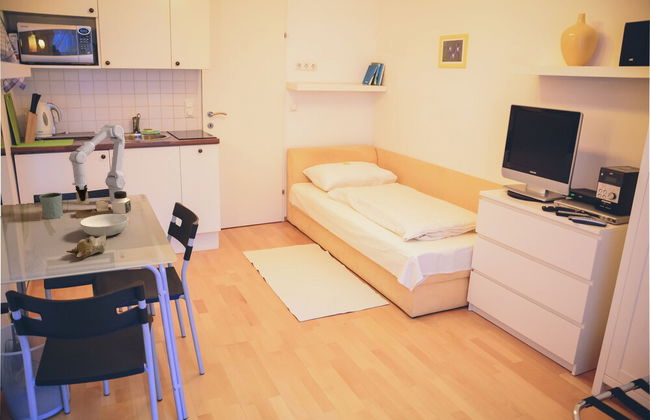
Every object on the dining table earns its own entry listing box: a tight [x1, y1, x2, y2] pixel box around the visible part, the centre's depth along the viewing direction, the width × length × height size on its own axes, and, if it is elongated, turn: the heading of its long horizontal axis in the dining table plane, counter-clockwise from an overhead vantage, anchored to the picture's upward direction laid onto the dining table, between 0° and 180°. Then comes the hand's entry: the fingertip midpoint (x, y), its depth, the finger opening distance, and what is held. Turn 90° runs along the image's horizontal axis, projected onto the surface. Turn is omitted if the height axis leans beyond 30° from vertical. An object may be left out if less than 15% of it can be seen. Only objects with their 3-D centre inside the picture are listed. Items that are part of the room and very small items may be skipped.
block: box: [95, 200, 109, 212], centre depth 268 cm, size 4×6×6 cm
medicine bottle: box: [111, 190, 132, 215], centre depth 271 cm, size 7×7×12 cm
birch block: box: [75, 190, 90, 205], centre depth 271 cm, size 4×6×6 cm
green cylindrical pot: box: [38, 192, 64, 220], centre depth 261 cm, size 10×10×12 cm
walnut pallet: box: [74, 206, 113, 220], centre depth 267 cm, size 10×17×3 cm, turn 117°
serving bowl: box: [79, 213, 130, 237], centre depth 240 cm, size 21×21×7 cm
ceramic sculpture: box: [66, 235, 107, 259], centre depth 214 cm, size 11×9×15 cm
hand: (82, 199), depth 271 cm, fingers closed on birch block, 4 cm apart
